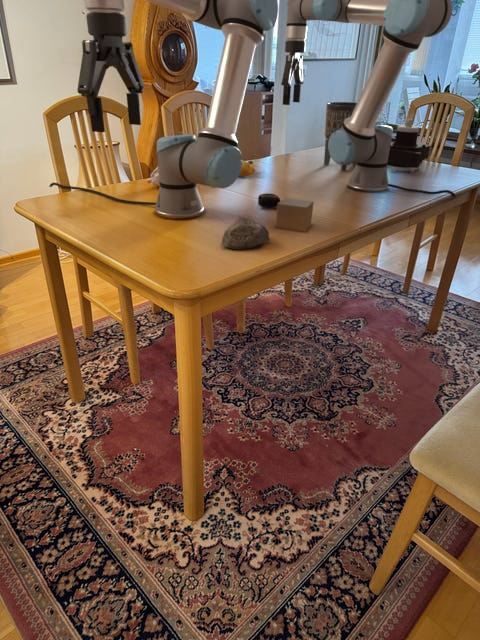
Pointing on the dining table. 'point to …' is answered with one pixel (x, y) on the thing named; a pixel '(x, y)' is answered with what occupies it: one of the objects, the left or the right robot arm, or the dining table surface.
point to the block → (294, 214)
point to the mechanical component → (407, 149)
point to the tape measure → (268, 200)
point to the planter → (336, 123)
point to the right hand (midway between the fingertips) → (291, 103)
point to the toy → (247, 168)
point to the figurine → (154, 177)
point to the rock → (245, 234)
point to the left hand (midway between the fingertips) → (117, 128)
